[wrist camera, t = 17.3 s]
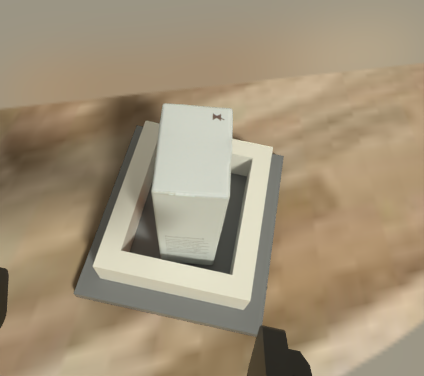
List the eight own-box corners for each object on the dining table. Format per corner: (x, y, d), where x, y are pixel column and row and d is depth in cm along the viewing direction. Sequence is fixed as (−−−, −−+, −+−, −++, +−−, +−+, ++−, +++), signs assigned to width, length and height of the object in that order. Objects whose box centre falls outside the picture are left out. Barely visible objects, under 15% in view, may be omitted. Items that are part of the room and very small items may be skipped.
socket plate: (76, 296, 29) (62, 282, 25) (137, 131, 37) (133, 103, 33) (258, 337, 28) (269, 328, 25) (281, 161, 36) (292, 136, 33)
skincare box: (166, 195, 32) (162, 99, 22) (216, 199, 33) (235, 105, 22) (158, 264, 30) (148, 191, 19) (213, 268, 30) (233, 198, 19)
